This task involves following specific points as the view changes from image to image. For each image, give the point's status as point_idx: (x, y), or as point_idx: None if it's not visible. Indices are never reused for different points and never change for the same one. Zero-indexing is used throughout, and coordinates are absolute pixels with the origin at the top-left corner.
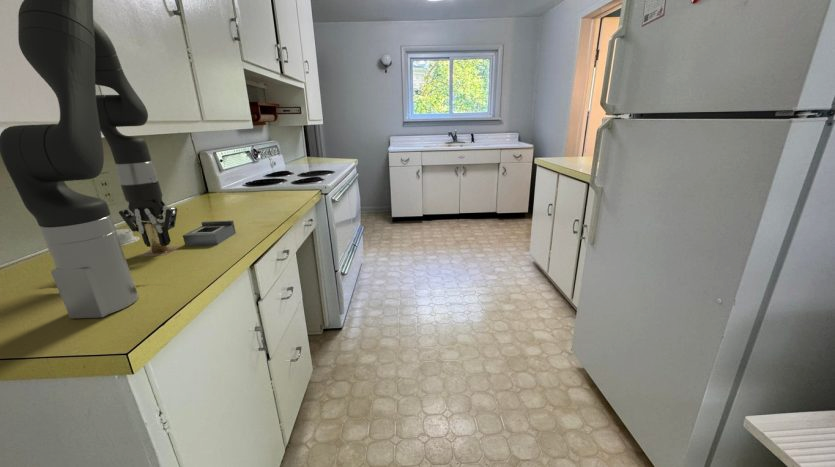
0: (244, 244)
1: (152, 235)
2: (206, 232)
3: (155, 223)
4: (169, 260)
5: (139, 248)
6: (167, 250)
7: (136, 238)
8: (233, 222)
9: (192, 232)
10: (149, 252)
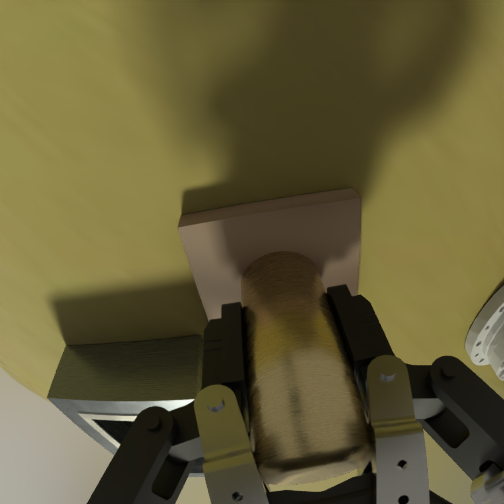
0: (24, 366)
1: (279, 355)
2: (108, 417)
3: (217, 467)
4: (134, 202)
5: (444, 311)
6: (239, 294)
7: (479, 356)
8: None
9: None
10: (331, 259)
